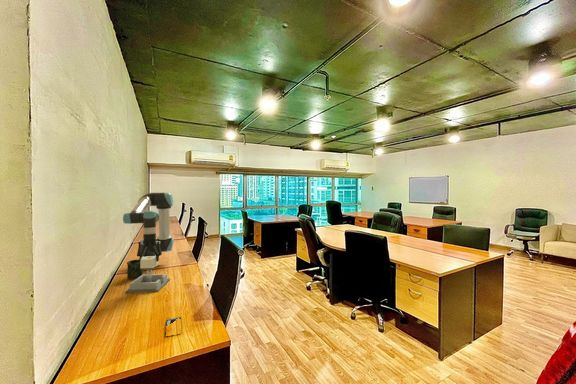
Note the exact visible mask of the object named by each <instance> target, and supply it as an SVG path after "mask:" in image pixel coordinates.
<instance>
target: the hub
mask: <svg viewBox="0 0 576 384" xmlns="http://www.w3.org/2000/svg"><path fill="white" fill-rule="evenodd" d="M155 257H156V255H155V256H146V257H144V258H142V259H141V260H140V268H143V269H154V268H156V267H155Z"/></svg>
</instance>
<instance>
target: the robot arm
mask: <svg viewBox="0 0 576 384" xmlns="http://www.w3.org/2000/svg"><path fill="white" fill-rule="evenodd" d="M173 205H174V199H173V195H172V193H170V192H148V193H145V194H143V195H142V196H141V197H140V198H138V200H137V204H136V205H135V206H134V207H133V209H132V210H131V211H130V212H126V213H124V214H123V216H122V222H123V224H129V225H132V224H142V225H143V228H142V229H143V235H142V237H143V238H142V239H141V240H140V241H138V242H137V243H138V248H137V252H136V256H137V257H138V258H139V259H140V260H141V259H142V258H144V257H146V256H156V257H155V267H154V268H156V267H157V266H159V261H160V257H161V256H162V254H163V253H165V252H171V251H172V250H173V247H174V241H175V240H174V238H173V237H172V235H171V229H170V228H171V227H170V224H171V223H170V209H171V208H172V206H173ZM149 207H156V210H157V211H158V212H156V210H147V208H149ZM157 222H158V236H157V234H156V233H157Z"/></svg>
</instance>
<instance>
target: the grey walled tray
mask: <svg viewBox="0 0 576 384" xmlns="http://www.w3.org/2000/svg"><path fill="white" fill-rule="evenodd" d="M170 281H171V278H168V274H167V273H157V274H156V273H155V274H154V273H152V282H147V273H146V274H143V275H141V276H140V277H138V278H137V279H133V281H131V282H130V283H129V288H128V289H127V290H125V293H127V294H129V293H130V294H131V293H132V294H133V293H151V292H152V293H156V292H157V293H158V292H159V291H160V290H161V289H163V288H164V287H165V286H166V285H167V284H168V283H169V282H170Z"/></svg>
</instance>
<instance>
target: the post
mask: <svg viewBox="0 0 576 384" xmlns="http://www.w3.org/2000/svg"><path fill="white" fill-rule="evenodd" d="M146 274H147V282H152V274H153V268H147V270H146Z"/></svg>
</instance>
